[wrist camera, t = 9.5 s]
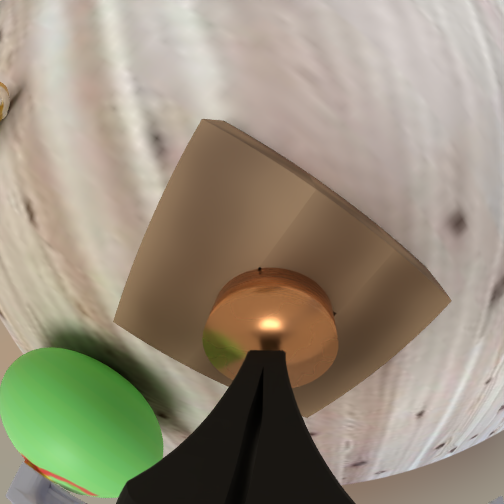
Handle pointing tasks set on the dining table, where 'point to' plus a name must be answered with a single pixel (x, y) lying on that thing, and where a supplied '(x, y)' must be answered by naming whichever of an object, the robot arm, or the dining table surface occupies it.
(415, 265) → the block
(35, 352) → the toy bird
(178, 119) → the dining table surface
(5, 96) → the ring
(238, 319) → the orange short cylinder
